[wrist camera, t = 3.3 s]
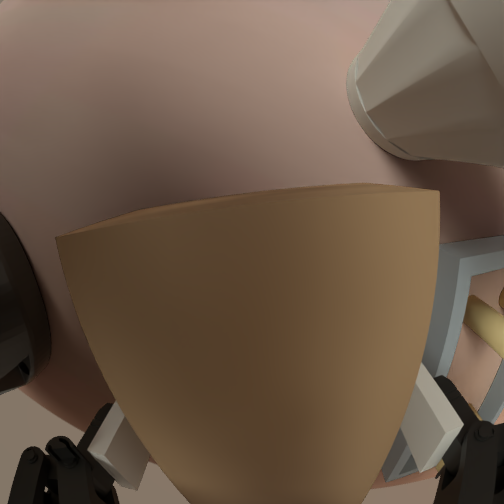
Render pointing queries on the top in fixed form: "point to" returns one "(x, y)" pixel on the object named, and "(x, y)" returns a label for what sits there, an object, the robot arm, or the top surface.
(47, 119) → the top surface
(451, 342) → the frame
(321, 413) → the board
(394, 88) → the cup
